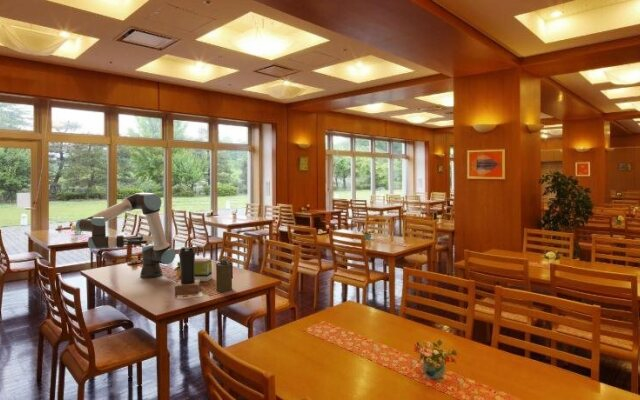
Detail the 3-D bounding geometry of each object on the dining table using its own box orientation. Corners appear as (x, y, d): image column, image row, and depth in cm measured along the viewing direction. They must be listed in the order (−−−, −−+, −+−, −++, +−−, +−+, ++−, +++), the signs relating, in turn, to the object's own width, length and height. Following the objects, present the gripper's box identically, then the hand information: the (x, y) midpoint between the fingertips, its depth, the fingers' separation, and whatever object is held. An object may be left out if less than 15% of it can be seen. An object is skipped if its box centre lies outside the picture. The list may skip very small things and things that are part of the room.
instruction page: (177, 294, 252) (177, 293, 252) (201, 292, 257) (201, 291, 257) (176, 299, 243) (176, 298, 243) (202, 296, 248) (202, 296, 248)
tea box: (212, 278, 291) (212, 258, 290) (207, 281, 281) (206, 261, 280) (192, 277, 292) (192, 257, 291) (186, 281, 282) (186, 260, 281)
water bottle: (181, 280, 262) (180, 246, 260) (197, 280, 263) (196, 245, 261) (177, 284, 252) (176, 249, 250) (194, 284, 252) (193, 248, 251)
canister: (219, 293, 255) (219, 262, 254) (213, 289, 264) (213, 259, 262) (235, 290, 262) (235, 260, 260) (229, 286, 270) (228, 257, 268)
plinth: (178, 289, 263) (178, 280, 263) (200, 288, 266) (200, 279, 265) (175, 295, 249) (174, 286, 249) (198, 294, 252) (197, 284, 251)
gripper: (119, 244, 261) (154, 242, 268) (114, 251, 238) (152, 248, 245) (118, 232, 260) (153, 231, 268) (113, 238, 237) (152, 236, 244)
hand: (153, 239), depth 256 cm, fingers open, 13 cm apart
